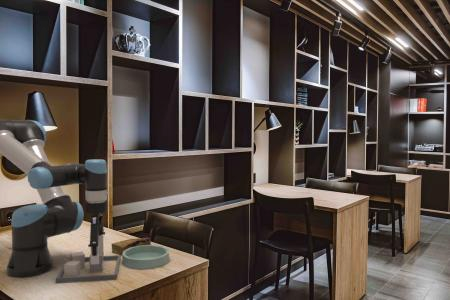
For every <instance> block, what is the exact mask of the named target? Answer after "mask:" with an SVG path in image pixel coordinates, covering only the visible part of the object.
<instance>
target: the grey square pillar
mask: <svg viewBox="0 0 450 300" xmlns="http://www.w3.org/2000/svg"><path fill="white" fill-rule="evenodd" d="M104 256H105V255H104V252H99V264H93V265H91V253H90V255H89V257H90V261H89V273H101V272H103V270H104V267H105V266H104V262H105V261H104Z"/></svg>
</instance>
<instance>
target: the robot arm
mask: <svg viewBox="0 0 450 300" xmlns="http://www.w3.org/2000/svg"><path fill="white" fill-rule="evenodd" d="M46 141H47V133H46V129H45V127H44V126H43V124H41V123H40V122H39V121H36V120H31V119H24V120H21V119H0V154H1V155H2V156H3V157H5V158H6V160H8V161H10V162H11V163H12V164H13V165H15V166H16V167H17V168H18V169H20V170H21V171H22V172H23V173H24V174H26V175H27V181H28V184H29V186H30V187H31V188H33V189H35V190H36V192H37V193H38V196H39V197H40V200H41V202H42V203H37V204H29V205H25V206H21V207H19V208H17V209H15V210H14V211H13V213H12V215H11V222H10V223H11V224H10V225H11V246H12V247H11V249H12V251H11V254H10V257H9V259H8V262H7V267H6V273H7V275H8V276H10V277H15V278H27V277H33V276H38V275H42V274H45V273H48V272H49V271H51V270H52V269H53V267H54V264H53V263H54V261H53V258H52V255H51V253H50V250H49V247H48V239H49V238H51V237H57V236H59V235H64V234H69V233H71V232H74V231H77V230H78V229H79V228H81V226H82V224H83V222H84V217H85V215H84V214H85V213H84V209H83V206H82V205H81V203H80V202H78V201H73V200H72V198H71V196H70V195H69V194H66V193H64V190H63V186H70V185H85V190H84V191H85V201H86V203H85V212H86V213H87V214H92V216H91V217H90V219H89V220H90V230H89V231H90V232H89V233H90V235H89V244H88V246H87V247H88V248H90V254H91V265H93V264H99V252H104V235H106V232H105V231H104V230H105V229H104V220H103V219H104V216H103V214H104V213H106V212H107V211H108V201H107V200H108V195H109V193H110V192H109V191H108V190H107V189H108V170H107V169H108V167H107V162H106V160H105V159H87V160H85V163H83V164H82V163H75V162H74V163H67V164H61V165H51V163H50V161H49V159H48V157H47V155H46V152H45V150H44V148H45V145H46V144H45V143H46Z"/></svg>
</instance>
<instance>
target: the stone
mask: <svg viewBox="0 0 450 300" xmlns="http://www.w3.org/2000/svg"><path fill="white" fill-rule="evenodd" d="M140 245H152V241H151V238H150V237H142V238H140V237H139V238H138V237H137V238H129V239H126V240H125V239H123V240H120V241H116V242H113V243H111V252H112V254H114V255H121V256H122V255H123V251H125V250H126V249H128V248H131V247H136V246H140Z"/></svg>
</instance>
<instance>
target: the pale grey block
mask: <svg viewBox="0 0 450 300" xmlns="http://www.w3.org/2000/svg"><path fill="white" fill-rule="evenodd" d="M69 253H70V254H69V255H70V257H69V258H70V260H71V261H80V268H81V269H84V268H86V262H85V257H86V255H85V253H84V251H82V250H81V251H76V252H69Z"/></svg>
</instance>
